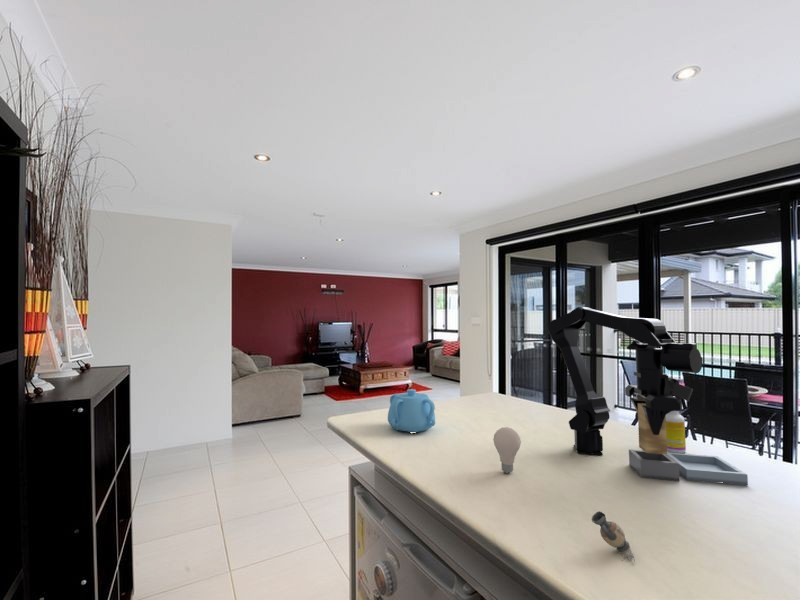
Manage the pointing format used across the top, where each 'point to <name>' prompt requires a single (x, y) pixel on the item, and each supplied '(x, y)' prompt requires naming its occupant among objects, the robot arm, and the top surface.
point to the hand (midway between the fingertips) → (652, 431)
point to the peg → (651, 434)
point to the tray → (708, 469)
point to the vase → (613, 534)
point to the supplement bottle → (675, 432)
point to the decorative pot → (411, 411)
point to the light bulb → (507, 447)
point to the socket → (654, 465)
